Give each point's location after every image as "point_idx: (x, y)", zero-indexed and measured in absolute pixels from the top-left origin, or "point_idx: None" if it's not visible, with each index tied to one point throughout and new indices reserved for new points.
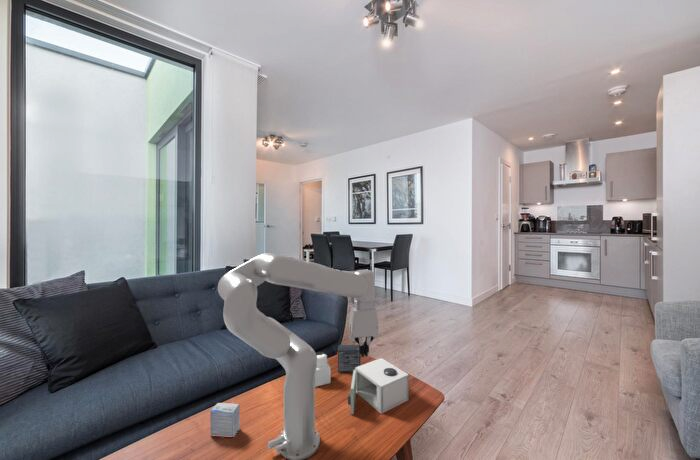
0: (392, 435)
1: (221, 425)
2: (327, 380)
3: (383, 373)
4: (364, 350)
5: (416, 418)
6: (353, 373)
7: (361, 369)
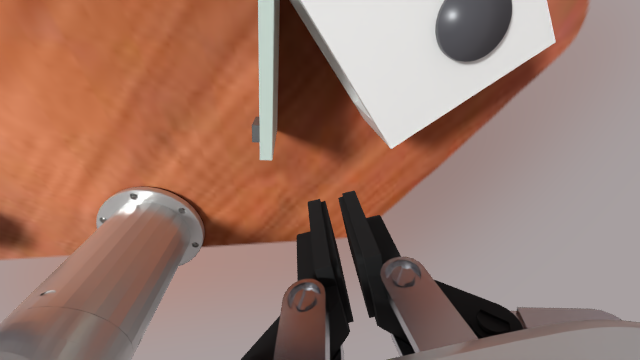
0: (376, 192)
1: None
2: None
3: (431, 31)
4: (349, 240)
5: (458, 134)
6: (261, 18)
7: None
